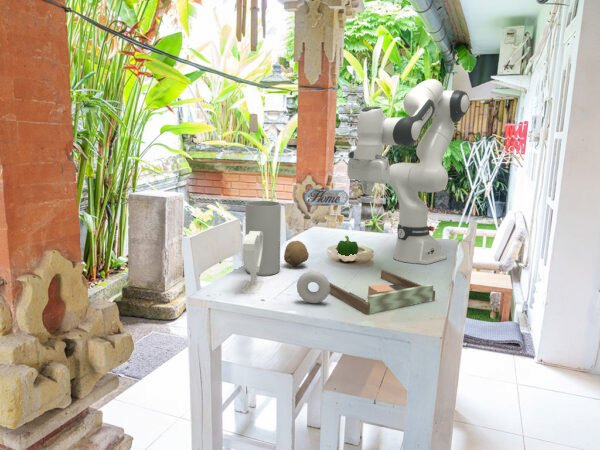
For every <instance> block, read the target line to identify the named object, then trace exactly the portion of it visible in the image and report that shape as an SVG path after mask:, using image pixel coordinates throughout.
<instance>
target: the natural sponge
mask: <svg viewBox="0 0 600 450" xmlns="http://www.w3.org/2000/svg"><path fill="white" fill-rule="evenodd" d="M309 257H310V256H309V252H308V249H307V247H306V245H305V244H304V243H303V242H302V241H300V240H291V241H290V242H289V243H288V244H287V245H286V247H285V249H284V255H283V258H284V262H285V263H287V264H289V265H290V266H292V267H298V266H300V265H301V264H303V263H305V262H306V261H307V260H309Z"/></svg>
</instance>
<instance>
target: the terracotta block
mask: <svg viewBox="0 0 600 450" xmlns="http://www.w3.org/2000/svg"><path fill="white" fill-rule="evenodd" d="M367 288H368V289H367V291H368V292H367V297H368V296H370V295H375V294H380V293H386V292H391V291H396V290H394V289H393V288H391V287H390V286H389V284H385V283H382V284H371V285H368V287H367Z"/></svg>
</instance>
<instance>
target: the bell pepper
mask: <svg viewBox="0 0 600 450" xmlns="http://www.w3.org/2000/svg"><path fill="white" fill-rule="evenodd" d="M344 238H345V239H346V240H340V241H339V242H338V243H337V246H336V249H337V250H336V252H337V251H338V252H337V254H338V253H339V254H341V255H345V256H349V255H350V254H352V255H354V254H357V255H358V253H359V245H358V242H357V241H351V240H350V237H349V236H348V235H345V236H344Z"/></svg>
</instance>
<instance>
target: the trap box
mask: <svg viewBox="0 0 600 450" xmlns="http://www.w3.org/2000/svg"><path fill="white" fill-rule="evenodd" d="M380 279H382V280H384V281H386V282H388V283H391V284H390V285H389V284H388V286H390V287H391V288H393V289H394V290H396V291H391V292H386V293H380V294H375V295H370V296H368V295H367V300H366V299H365V298H364V299H363V298H362V297H360V296H358V295H357V294H355V293H353V292H348V291H347V290H345V289H342V288H341V287H339V286H338V285H335V284H334V283H331V282H330V281H329V284H330V291H329V294H330V295H332V296H333V297H335V298H336V299H338V300H339V301H341V302H344V303H345V304H347V305H349V306H351V307H353V308H354V309H356V310H358V311H360V312H362V313H363V314H364V315H371V314H372V315H373V314H376V313H380V312H381V313H382V312H385V311H390V310H395V309H400V308H403V307H409V305H410V306H414V305H413V304H415V305H418V304H417V303H419V304H423V303H422V302H424V303H427V302H426V301H429V302H431V301H430V300H434V301H436V300H435V299H436V290H434V284H431V283H430V284H429V283H428V284H424V285H421V284H419V283H416V282H415V281H412V280H410V279H406V278H405V277H402V276H400V275H397V274H395V273H392V272H390V271H387V270H385V269H381V270H380ZM329 294H328V295H329Z"/></svg>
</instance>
